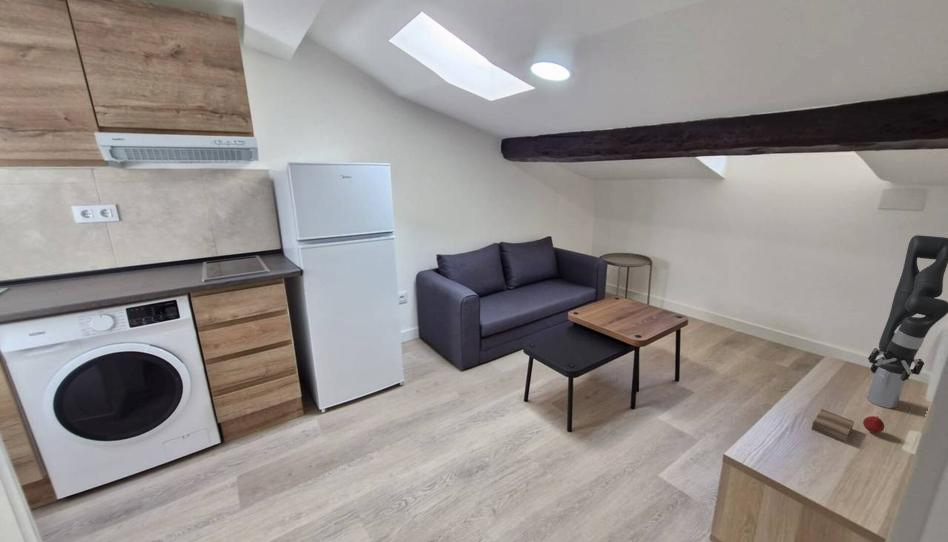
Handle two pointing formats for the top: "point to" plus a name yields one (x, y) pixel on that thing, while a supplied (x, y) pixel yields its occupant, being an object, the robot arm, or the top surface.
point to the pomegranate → (873, 424)
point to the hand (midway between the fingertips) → (887, 375)
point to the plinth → (832, 425)
